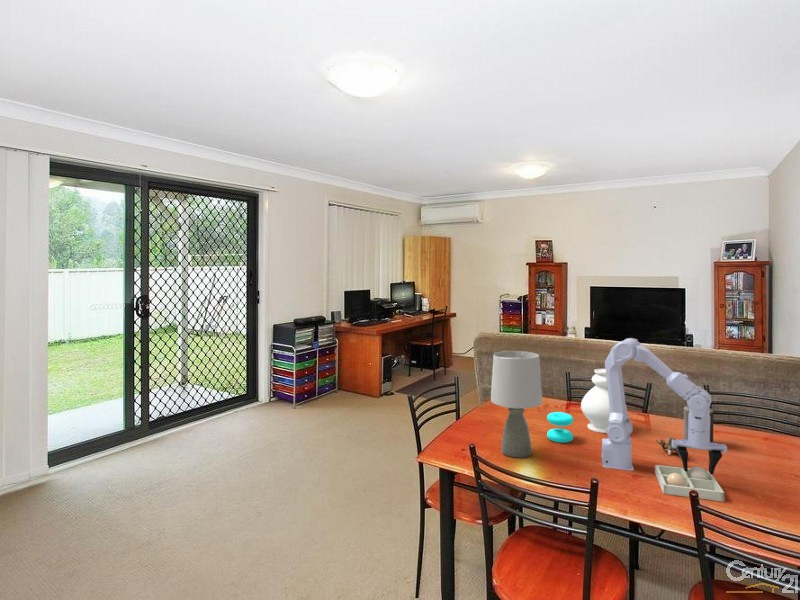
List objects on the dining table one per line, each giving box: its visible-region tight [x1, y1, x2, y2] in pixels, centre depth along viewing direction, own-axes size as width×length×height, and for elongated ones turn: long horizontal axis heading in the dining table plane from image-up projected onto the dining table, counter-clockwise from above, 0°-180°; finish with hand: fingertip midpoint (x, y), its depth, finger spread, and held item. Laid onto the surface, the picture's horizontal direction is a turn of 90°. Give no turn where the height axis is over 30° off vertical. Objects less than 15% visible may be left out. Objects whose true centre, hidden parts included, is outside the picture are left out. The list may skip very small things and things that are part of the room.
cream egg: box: [689, 466, 708, 480], centre depth 144 cm, size 5×5×5 cm
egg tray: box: [654, 464, 725, 503], centre depth 142 cm, size 15×15×3 cm
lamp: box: [490, 350, 543, 459], centre depth 171 cm, size 19×19×37 cm
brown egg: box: [667, 473, 686, 487], centre depth 140 cm, size 5×5×5 cm
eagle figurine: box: [655, 437, 681, 458], centre depth 167 cm, size 8×7×9 cm
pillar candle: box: [683, 405, 715, 443], centre depth 177 cm, size 10×10×15 cm
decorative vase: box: [580, 368, 628, 434], centre depth 196 cm, size 18×18×25 cm
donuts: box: [546, 411, 574, 444], centre depth 184 cm, size 10×10×10 cm
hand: (698, 471), depth 144 cm, fingers open, 6 cm apart
